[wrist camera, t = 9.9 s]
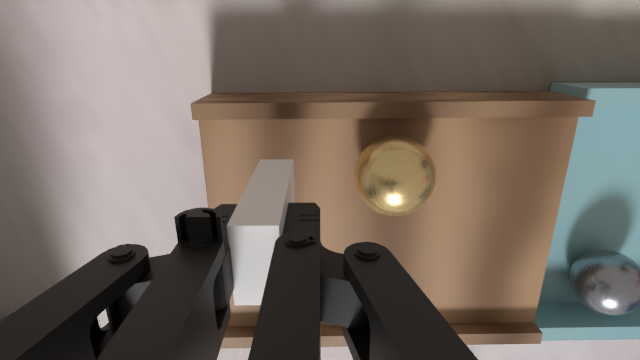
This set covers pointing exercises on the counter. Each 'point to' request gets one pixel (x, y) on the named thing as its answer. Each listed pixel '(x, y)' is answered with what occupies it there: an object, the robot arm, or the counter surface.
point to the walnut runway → (441, 208)
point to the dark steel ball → (606, 282)
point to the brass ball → (395, 175)
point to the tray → (595, 210)
